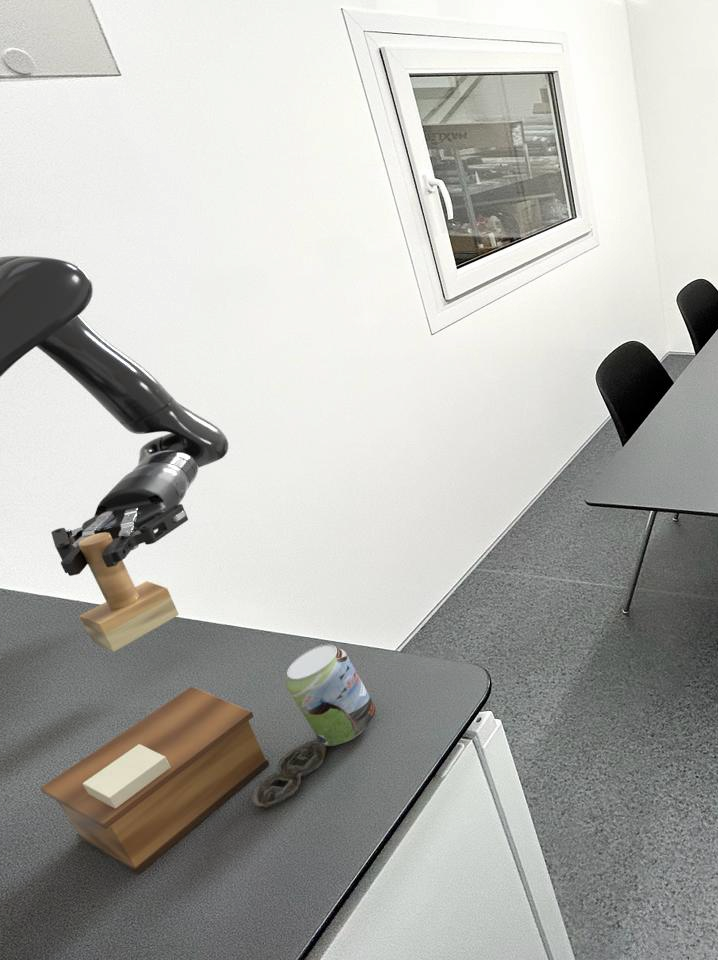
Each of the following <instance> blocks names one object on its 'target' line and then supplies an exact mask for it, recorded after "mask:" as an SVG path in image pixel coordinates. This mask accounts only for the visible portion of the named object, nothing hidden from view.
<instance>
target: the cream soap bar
mask: <svg viewBox="0 0 718 960" xmlns="http://www.w3.org/2000/svg"><path fill="white" fill-rule="evenodd" d="M169 768H171V767H170V765H169V763H168V761H167V759H166V757H165V756H163V755H161V754H159V753H156V752H154V751H152V750H150V749H148V748H146V747H144V746H142V745H140V744H138V745H137V746H136V747H134V748H133V749H131V750H130V751H128V752H127V753H125V754H124V755H123V756H121V757H120V758H118V759H117V760H115V761H114V762H113V763H111V764H110V765H108V766H107V767H105V768H104V769H102V770H101V771H100V772H98V773H97V774H95V775H94V776H92V777H91V778H89V779H88V780H87V781H85V782H84V783H83V785H84V787H85V789H86V790H87V792H88V794H89V795H91V796H93V797H95V798H97V799H98V800H100V801H102V802H104V803H106V804H107V805H109V806H111V807H113V808H115V809H116V808H117V807H119V806H120V805H121V804H123V803H124V802H125V801H127V800H128V799H129V798H131V797H132V796H133V795H135V794H136V793H137V792H139V791H140V790H141V789H143V788H144V787H145V786H147V785H148V784H149V783H151V782H152V781H153V780H155V779H156V778H157V777H159V776H160V775H161V774H163V773H164V772H165V771H167V770H168V769H169Z"/></svg>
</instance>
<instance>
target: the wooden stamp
mask: <svg viewBox="0 0 718 960" xmlns="http://www.w3.org/2000/svg"><path fill="white" fill-rule="evenodd" d="M112 541H113V539H112V537H111V535H110V533H98V534H95V535H92V536H89V537H87V538H85V539H83V540H81V541H80V542H79V544H78V545H79V547H80V549H81V551H82V553H83V555H84V557H85V559H86V561H87V563H88V564H87V566H88V567H89V570H90V572H91V573H92V576H93V577H94V580H95V582H96V584H97V586H98V588H99V590H100V592H101V593H102V596H103V598H104V600H105V602H103V603H102V604H99V605H98V606H95V607H93V608H91V609H89V610H88V611H86V612H84V613H82V614H80V615H79V618H80V620H81V622H82V624H83V626H84V628H85V630H86V632H87V634H88V636H89V638H90V640H91V642H92V643H93V644H94V645H97V646H98V647H101V648H104V649H105V650H108V651H111V652H114V653H115V652H117V651H118V650H120V649H121V648H123V647H125V646H127V645H129V644H130V643H132V642H134V641H136V640H137V639H139V638H141V637H142V636H144V635H146V634H148V633H150V632H151V631H153V630H155V629H156V628H159V627H160V626H162V625H163V624H165V623H167V622H169V621H171V620H172V619H174V618H176V617H177V616H179V614H180V613H179V612H178V610H177V607H176V604H175V603H174V600H173V598H172V595H171V594H170V591H169V589H168V587H164V586H163V585H159V584H156V583H153V582H151V581H148V580H147V581H145V582H142V583H140V584H138V585H136V586H135V584H134V582H133V579H132V578H131V575H130V574H129V571H128V569H127V567H126V565H125V562H124V559H123V560H122V561H120V562H119V563H118V564H117V565H116V566H112V567H107V566H106V564H105V562H104V560H103V558H102V553H103V551H104V550H105V549H106V548H107V546H108V545H109V544H110V543H111V542H112Z"/></svg>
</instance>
